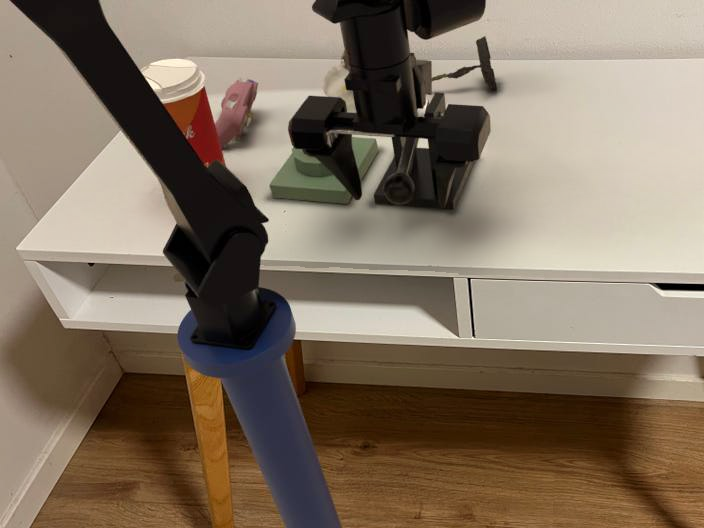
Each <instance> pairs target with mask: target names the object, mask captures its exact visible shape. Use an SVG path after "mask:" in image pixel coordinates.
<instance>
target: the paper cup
mask: <svg viewBox="0 0 704 528" xmlns="http://www.w3.org/2000/svg"><path fill="white" fill-rule="evenodd" d="M139 70H140V71H141V73H142V74H143V75H144V77H145V78H146V80H147V81H148V83H149V84H150V86H151V87H152V89H153V90H154V92H155V93H156V94H157V96H158V97H159V99H160V100H161V102H162V103H163V105H164V106H165V108H166V109H167V111H168V112H169V114H170V115H171V116H172V118H173V119H174V121H175V122H176V124H177V125H178V127H179V128H180V130H181V131H182V133H183V134H184V135H185V137H186V138H187V140H188V141H189V143H190V144H191V146H192V147H193V149H194V150H195V152H196V153H197V154H198V156H199V157H200V159H201V160H202V162H203V163H204V165H205V166H206V168H207V167H208V166H210V165H211V164H212V163H213V162H214V161H215V160H216V159H218V160H219V161H220V162H221V163H222V164H224V165H225V166H226V167H227V165H226V161H225V157H224V152H223V150H222V147H221V145H220V142H219V138H218V134H217V130H216V127H215V120H214V116H213V112H212V108H211V105H210V101H209V97H208V93H207V90H206V89H207V88H206V86H205V84H206V79H207V78H206V76H205V74H204V73H203V72H202V71H201V70H200V69H199V67H198V65H197V64H196V63H194V62H193V61H192V60H189V59H184V58H167V59H161V60H157V61H154V62H151V63H149V64H148V66H143V67H142V68H141V69H139Z"/></svg>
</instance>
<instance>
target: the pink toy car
mask: <svg viewBox="0 0 704 528" xmlns="http://www.w3.org/2000/svg"><path fill="white" fill-rule="evenodd" d="M258 87H259V82H257V81H256V80H255V81H254V80H253V79H249V78H242V77H241V76H239V78H238V79H237V80H236V81H235V82H234V83H233V84H231V85H230V86H229V87H227V89H226V91H225V95H224V97H223V98H222V101H221V102H220V107H221V112H220V115H219V116H218V119H217V120H216V121H214V123H215V127H216V130H217V134H218V138H219V142H220V145H221V148H223V147H225V146H226V145H228V144H229V143H231V142H232V141H233V140H234V139H235V138H236V137H237V138H239V139H240V138H241V136H242V133H243V131H244V128H245V126H246V128H247V127H248V126H249V125H250V124H251V119H252V117H253V115H252V113H251V110H252V107H253V105H254V102H255V101H256V99H257V94H258Z"/></svg>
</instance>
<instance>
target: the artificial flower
mask: <svg viewBox="0 0 704 528" xmlns="http://www.w3.org/2000/svg"><path fill="white" fill-rule="evenodd" d="M475 43H476V44H475V45H476V48H477V49H476V50H477V55H478V61H479V64H478V65H472V66H463V67H460V68H459V69H458V68H457V69H456V71H454V72H449V73H443V74H439V75H436V76H432V82H434V81H440V80H442V79H445V78H448V79H458V78H461V77H463V76H465V75H467V74H469V73H470V72H471V71H474V70H475V69H478V68H480V72H481V74H482V77H483V80H484V84H485V85H488V86H489V88H490V89H491V90H498V86H497V81H496V77H495V71H494V69H493V67H492V64H491V58H492V57H491V53H490V50H489V49H490V48H489V43H488V41H487V37H486V35H484V36H482V37H480V38H478V39H476V40H475ZM340 57H341V58H340V62H339V64H338V65H335V66H330V67H329V68H328V70H327V72H326V74H325V75H324V76H323V77H322V91H323V93H324V95H325V96H326V97H341V98H342V99H343V100H344V101H346V107H347V112H351V113H356V108H355V103H354V97H353V92H352V91H351V90H346V86H345V81H344V79H345V78H346V76H347V75H348V74H349V70H348V65H347V60H346V54H345V49H344V50H343V52H342V54H341V56H340ZM342 60H343V61H342Z"/></svg>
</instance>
